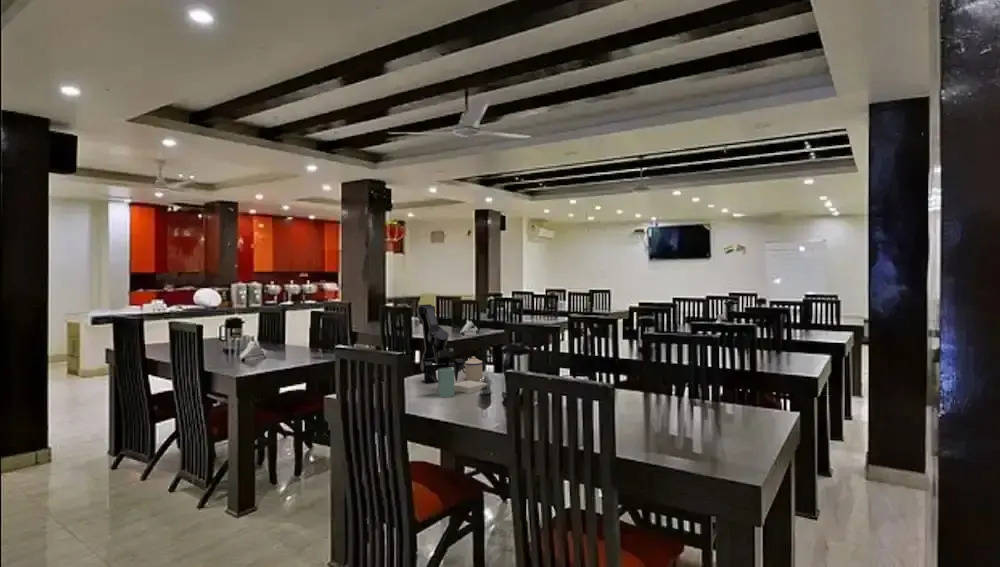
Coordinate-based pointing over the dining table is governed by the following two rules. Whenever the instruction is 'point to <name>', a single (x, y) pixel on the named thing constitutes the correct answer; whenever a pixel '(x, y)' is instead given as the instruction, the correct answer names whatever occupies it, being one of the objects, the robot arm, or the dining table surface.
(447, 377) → the teal block
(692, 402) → the dining table surface
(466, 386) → the plate
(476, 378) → the teacup with lid
